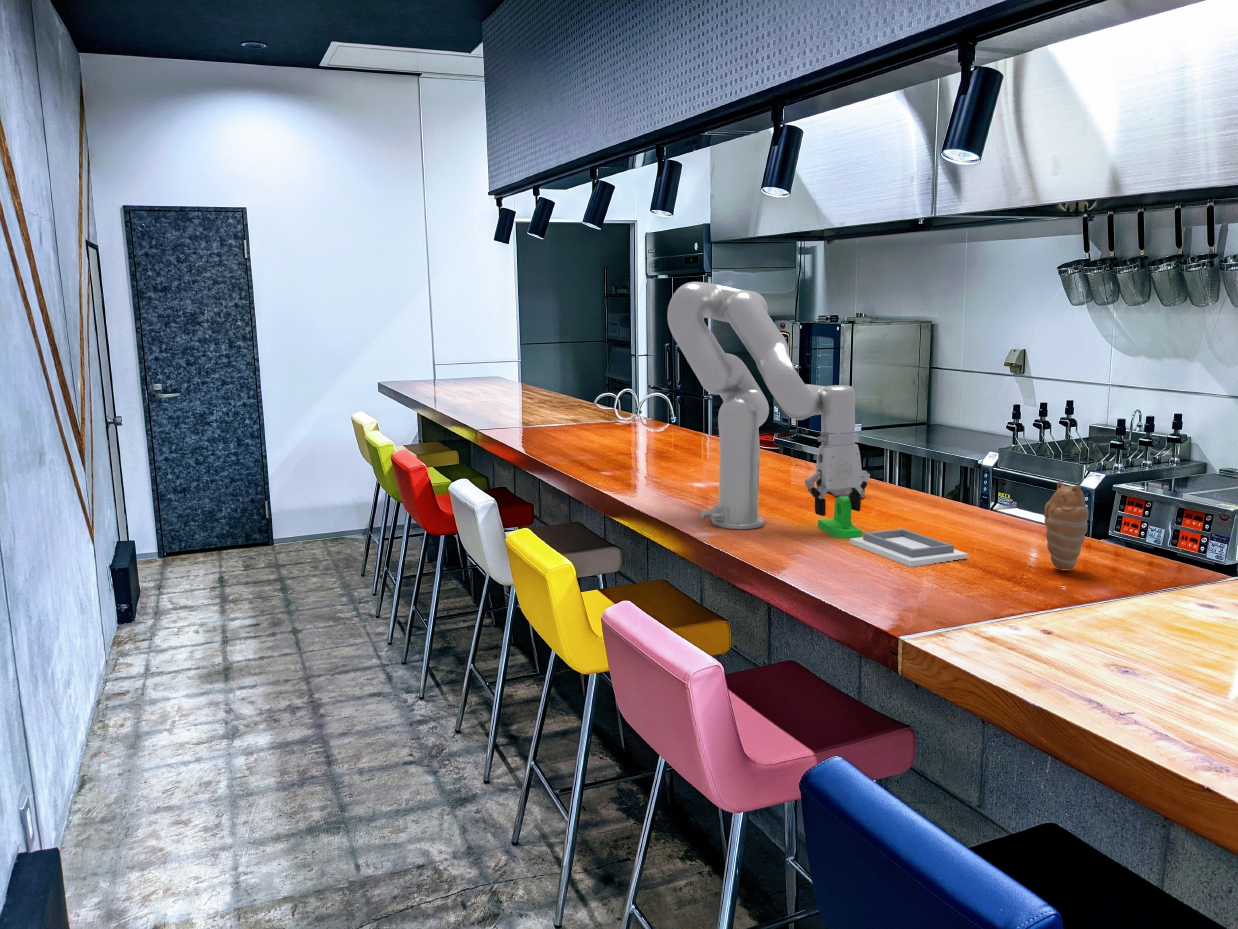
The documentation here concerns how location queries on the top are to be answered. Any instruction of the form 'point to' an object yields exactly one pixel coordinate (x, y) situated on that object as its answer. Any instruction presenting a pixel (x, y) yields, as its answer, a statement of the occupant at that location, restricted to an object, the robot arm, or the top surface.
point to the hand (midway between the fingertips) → (837, 512)
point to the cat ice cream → (1066, 525)
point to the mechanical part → (840, 521)
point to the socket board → (907, 547)
